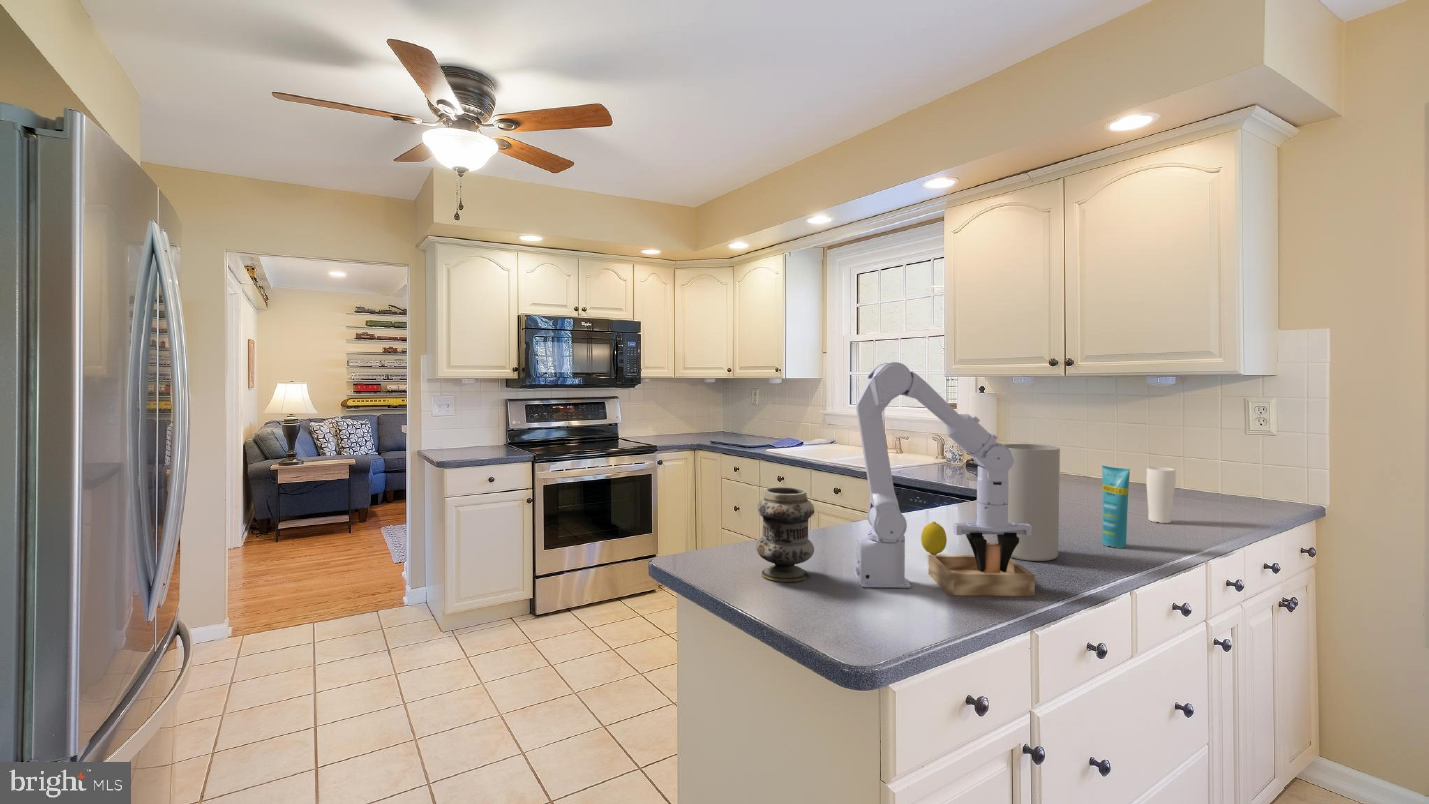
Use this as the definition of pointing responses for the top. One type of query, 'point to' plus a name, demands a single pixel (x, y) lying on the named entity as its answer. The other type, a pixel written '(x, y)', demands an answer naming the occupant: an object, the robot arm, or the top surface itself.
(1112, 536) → the tube
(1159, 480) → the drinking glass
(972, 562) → the box
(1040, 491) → the cylinder vase
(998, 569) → the peg
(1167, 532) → the top surface
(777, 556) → the apothecary jar
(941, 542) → the lemon
